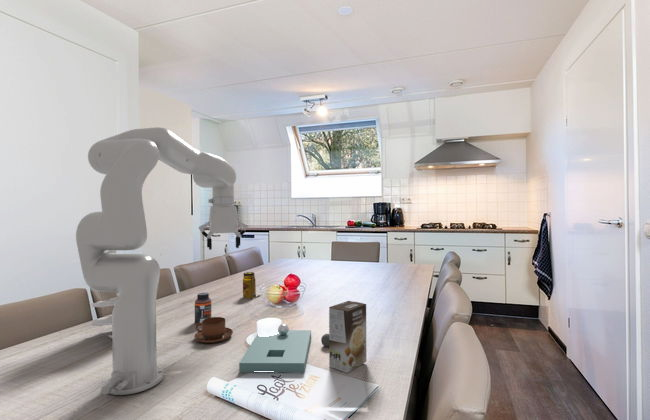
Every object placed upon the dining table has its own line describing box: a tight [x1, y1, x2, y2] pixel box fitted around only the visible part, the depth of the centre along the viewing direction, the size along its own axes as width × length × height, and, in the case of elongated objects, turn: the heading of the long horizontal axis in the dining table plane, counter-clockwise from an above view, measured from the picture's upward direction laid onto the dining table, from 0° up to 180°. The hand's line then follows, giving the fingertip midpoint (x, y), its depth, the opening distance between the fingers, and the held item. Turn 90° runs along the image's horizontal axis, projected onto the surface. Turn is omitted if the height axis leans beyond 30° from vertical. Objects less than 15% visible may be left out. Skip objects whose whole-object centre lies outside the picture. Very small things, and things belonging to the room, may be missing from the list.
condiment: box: [242, 271, 261, 300], centre depth 166 cm, size 7×8×12 cm
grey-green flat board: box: [238, 329, 312, 374], centre depth 100 cm, size 24×17×2 cm
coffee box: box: [328, 300, 367, 374], centre depth 92 cm, size 9×6×16 cm
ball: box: [277, 323, 290, 335], centre depth 108 cm, size 3×3×3 cm
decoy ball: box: [320, 333, 329, 348], centre depth 105 cm, size 4×4×4 cm
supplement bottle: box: [194, 292, 213, 326], centre depth 127 cm, size 6×6×11 cm
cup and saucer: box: [193, 316, 234, 344], centre depth 112 cm, size 12×12×6 cm
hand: (224, 248), depth 126 cm, fingers open, 9 cm apart
